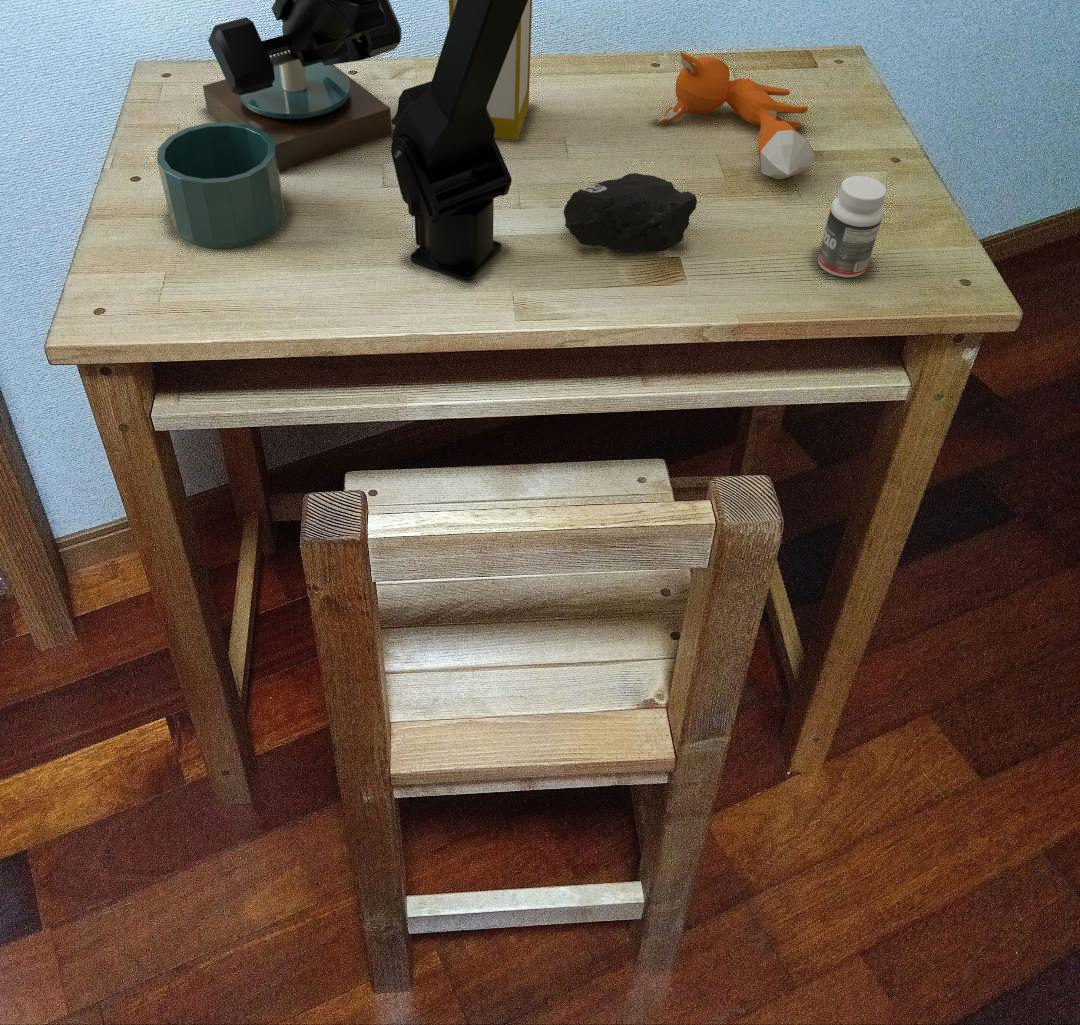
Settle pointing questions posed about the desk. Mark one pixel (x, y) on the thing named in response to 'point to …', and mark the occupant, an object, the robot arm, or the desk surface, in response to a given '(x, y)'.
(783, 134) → the toy
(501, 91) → the white and yellow box
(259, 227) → the jar
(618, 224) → the rock
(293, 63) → the lid
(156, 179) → the desk surface
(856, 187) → the pill bottle
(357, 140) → the board
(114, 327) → the desk surface
